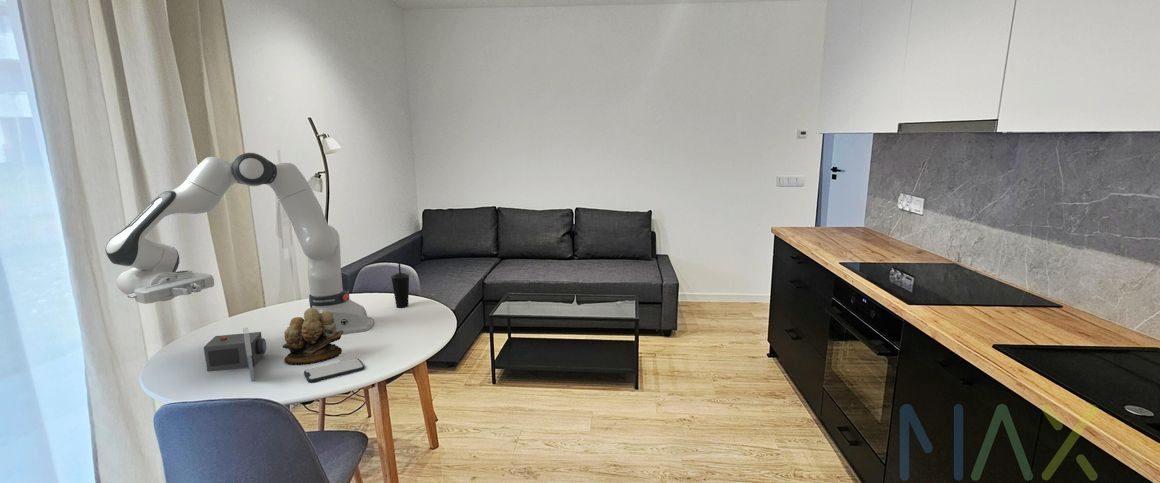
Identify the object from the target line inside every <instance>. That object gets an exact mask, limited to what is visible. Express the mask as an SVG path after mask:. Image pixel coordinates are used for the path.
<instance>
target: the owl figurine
mask: <svg viewBox="0 0 1160 483" xmlns="http://www.w3.org/2000/svg"><path fill="white" fill-rule="evenodd" d="M342 335H344V334H343V331H342V330H340V331H338V332H337V331H336V324H335V321H334V318H333V314H332V312H330V311H324V312H322V313H320V314H319V312H318V310H316V309H314V308H310V307H309V308H306V310H305V311H304V313H303V317H301V316H296V317H293V318H291V319H290V322H289V326H288V327H286V330H284V341H285V343H284V344H282V348H283V349H285V350H289V353H287V355H286V356H285V357H284V364H286V365H289V366H306V365H312V364H319V363H323V362H327V361H330V360H334V359H335V358H337V357H339V356H340V355H341V354H342V352H343V349H342V348H341V346H339V345H336V344H335V342H337V341H339V340H340V339H341V338H342Z"/></svg>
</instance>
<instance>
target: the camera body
mask: <svg viewBox="0 0 1160 483" xmlns="http://www.w3.org/2000/svg"><path fill="white" fill-rule="evenodd" d="M249 336H250V344H251V351H252V356H251V357H252V364H253V367H256V366H257V364H258V363H259V362H260V360H261V359H262V357H263V356H264V355H265V354H266V351H267V340H266V339H265V338H264V337H263V336H262V332H261V331H255V332H249ZM262 337H263V338H262ZM203 352H204V358H205V359H204V360H205V365H206V366H205V367H206V371H207V372H212V371H221V370H230V369H240V368H248V364H247V356H246V349H245V339H244V332H243V333H236V334H235V333H233V334H223V335H221V334H220V335H215V336H214V337H213V338H212V339H211V340H210V341H208V342H207V343H206V344H205V345H204V346H203Z"/></svg>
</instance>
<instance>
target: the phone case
mask: <svg viewBox="0 0 1160 483" xmlns="http://www.w3.org/2000/svg"><path fill="white" fill-rule="evenodd" d="M365 369H366V366H365V365H364V363H363V362H362V361H361V360H360V359H359V358H352V359H351V358H350V359H347V360H343V361H339V362H334V363H331V364H330V363H329V364H327V365H326V364H324V365H320V366H316V367H311V368H308V369H304V371H303V375H304V378H305V379H306V381H307V382H308V383H309V384H315V383H319V382H323V381H326V380H330V379H333V378H338V377H342V376H346V375H349V374H353V373H357V372H360V371H361V372H362V371H364V370H365Z"/></svg>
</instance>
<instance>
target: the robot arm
mask: <svg viewBox="0 0 1160 483" xmlns="http://www.w3.org/2000/svg"><path fill="white" fill-rule="evenodd" d="M234 184H240V185H244V186H247V187H248V186H249V187H259V186H261V185H267V186H269V187H270V188H271V189H272V190H273V192H274V194H275V195H276V197H277V199H278V201H279V202H280V204H281V206H282V208H283V210H284V211H285V213H286V214H287V217H288V219H289V221H290V224H291V226H292V228H293V231H294V234H295V235H296V238H297V240H298V243H299V244H300V246H301V248H302V252H303V254H304V255H305V256H306V258H307V260H308V261H307V262H308V263H307V275H308V287H309V296H308V302H309V303H308V304H309V308H314V309H316V310H318V312H319V314H320V313H322V312H324V311H330V312H332V314H333V318H334V321H335V324H336V331H337V332H338V331H340V330H342V331H343V334H342V335H345V334H352V333H357V332H360V333H361V332H364V331H365V332H366V331H368V330H369V329H371V328H372V327H373V326H374V325H375V321H374V318H373V317H371V316H368V313H367V310H366V308H365V307H364V306H363V305H361V304H359V303H357V302H356V301H354V300H352V299H350V290H345V289H343V278H342V263H341V262H342V261H341V242H340V241H341V240H340V234H339V232H338V231H337V229H336V227H333V226H331V225H329V224H328V221H327V219H326V217H325V214H324V212H323V209H322V206H321V203H320V202H319V201H318V199H317V197H316V195H315V193H314V191H313V189H312V188H311V186H310V183H309V182H308V181H307V179H306V177H305V176H304V174H303V173H302V172H301V171H300V169H299V168H298V167H297V166H296V165H295V164H294V163H291V162H280V163H278V164H275V163H273V162H272V161H270V160H269V159H267V158H265V157H264V156H263V155H261V154H259V153H256V152H244V153H242V154H240V155H238V156H237V157H236V158H235V159H234V160H232V161H228V160H225V159H223V158H222V157H217V156H208V157H206V158H203V160H202V161H201V162H200V163H198V164H197V166H196V167H194V169H193V170H192V171H190V173H189V174H188V176H187V177H186V179H185V180H184V181H183V182H182V183H181V184H180V185H178V186H177V187H176V188H174V189H172V190H166V191H163V192H161V193H160V194H158V196H156V197H155V198H154V199H153V200H152V201H151V202H150V203H149V204H148V205H147V206H146V207H144V209H143V210H142V211H140V213H139V214H138V215H136V217H135V218H133V219H132V220H131V221H130V223H128V224H127V225H126V227H124V228H123V229H121V230H120V231H119V232H117V233H116V234H115V235H113V236H112V237H111V238H110V239H109V240H108V242H107V243H106V246H105V254H106V257H107V258H108V259H109V261H110V262H111V263H112V264H113V265H118V266H123V267H129V269H128V270H125V271H124V272H121V273H120V274H119V275H118V277H117V279H116V286H117V287H118V290H120V291H121V292H122V293H123V294H125V295H126V296H127V298H129V299H135V301H136V302H137V303H140V304H145V305H146V304H147V305H148V304H153V303H156V302H168V301H170V300H173V299H175V298H177V297H178V296H189V295H191V294H192V293H198V292H199V293H200V292H202V290H206V289H209V288H213V287H214V286H215V279H214V276H213V275H212V274H208V273H203V272H193V270H180V271H178V268H179V264H180V254H179V251H178V250H177V249H176V247H174V246H171V245H168V244H166V243H162V242H160V241H159V242H158V241H156V240H154V239H150V238H147V237H146V236H147V235H148V234H149V233H150V232H151V231H152V230H153V229H154V228H155V226H156V225H158V224H159V223H160V222H161V220H163V219H164V218H165V217H168V216H171V215H175V214H189V215H190V214H192V215H199V214H205V213H208V212H210V211H212V210H214V209H215V208H216V207H217V206H218V204H219V202H220V201H221V200H222V198H223V197H224V195H225V194H226V192H227V191H228V189H229V188H230V187H231V186H233V185H234Z"/></svg>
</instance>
